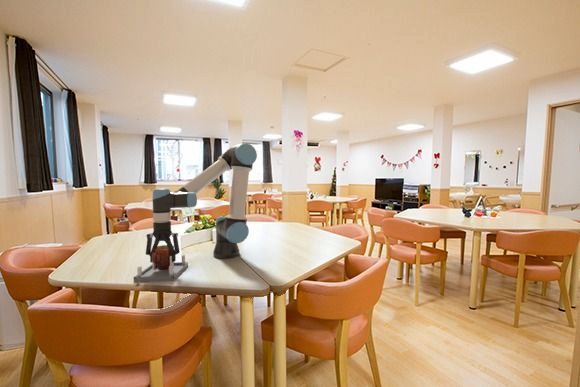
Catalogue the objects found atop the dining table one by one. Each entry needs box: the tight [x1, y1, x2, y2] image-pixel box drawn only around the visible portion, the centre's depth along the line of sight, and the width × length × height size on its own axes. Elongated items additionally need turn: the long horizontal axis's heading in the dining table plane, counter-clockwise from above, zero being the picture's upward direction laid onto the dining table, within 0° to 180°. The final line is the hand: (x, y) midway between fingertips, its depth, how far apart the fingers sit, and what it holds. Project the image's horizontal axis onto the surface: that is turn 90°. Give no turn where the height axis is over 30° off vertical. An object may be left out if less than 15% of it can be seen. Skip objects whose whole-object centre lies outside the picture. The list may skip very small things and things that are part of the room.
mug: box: [152, 244, 174, 270], centre depth 124 cm, size 12×9×10 cm
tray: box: [133, 254, 189, 283], centre depth 125 cm, size 17×20×6 cm
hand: (163, 268), depth 125 cm, fingers closed on mug, 7 cm apart
